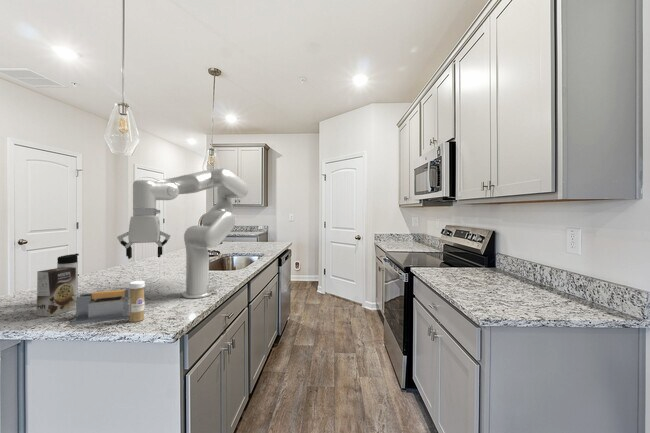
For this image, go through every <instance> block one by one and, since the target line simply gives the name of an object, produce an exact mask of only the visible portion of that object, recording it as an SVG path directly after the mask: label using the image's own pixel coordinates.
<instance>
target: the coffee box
mask: <svg viewBox="0 0 650 433" xmlns="http://www.w3.org/2000/svg"><path fill="white" fill-rule="evenodd" d="M36 272H37V273H36V274H37V277H36V278H37V279H36V282H37V283H36V284H37V285H36V290H37V291H36V316H38V317H39V316H40V317H49V318H52V317H54V316H55V317H56V316H58V315H60V314H63V313H66V312H69V311H73V310H76V268H73V267H61V268H57V267H56V268H50V269H44V270H43V269H42V270H40V271H39V270H38V271H36ZM51 316H52V317H51Z"/></svg>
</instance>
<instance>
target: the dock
mask: <svg viewBox="0 0 650 433" xmlns="http://www.w3.org/2000/svg"><path fill="white" fill-rule="evenodd" d="M92 293H93V292H91V293H80V294H79V296H78V297H77V298H76V309H75V318H74V319H72V321H70V326H75V325H76V326H77V325H82V324H89V323H90V324H93V323H100V322H108V321H115V320H126V319H130V312H129V296H128V297H125V296H121V297H110V298H99V299H92Z"/></svg>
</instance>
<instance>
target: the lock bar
mask: <svg viewBox="0 0 650 433" xmlns="http://www.w3.org/2000/svg"><path fill="white" fill-rule="evenodd" d="M91 293H92V299H99V298H110V297H121V296H125V297H128V298H129V297H130V288H129V287H126V288H125V289H114V290H105V291H103V290H102V291H93V292H91Z"/></svg>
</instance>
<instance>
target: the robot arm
mask: <svg viewBox="0 0 650 433" xmlns="http://www.w3.org/2000/svg"><path fill="white" fill-rule="evenodd" d="M216 187H217V202H216V203H215V204H214V205H213V207H212V208H210V209H209V210H208V211H207V213H206V214H205V215H204V216H203V217H202V220H201V225H192V226H189V227H188V228H186V230H184V231H185V232H184V234H183V242H184V246H185V256H186V258H185V261H186V262H185V290H184V291H183V292H182V294H181V297H183V298H184V299H200V298H206V297H208V296H211V295H212V294H213V290H220V284H210V281H209V279H210V277H209V276H210V273H209V272H210V255H209V249H208V248H212V249H213V248H216V247H218V246H219V245H221V243H222V242H223V241H224V240H225V239H226V237H227V236H228V235H229V234H230V233H231V231H232V230H233V229H234V226H235V224H236V218H235V215H234V213H233V210H234V209H233V208H234V206H233V200H232V199H242V198H245V197H246V196H247V195H248V194H249V187H248V185H247V182H246V181H244V180H243V179H242V178H240V177H239V176H238V175H236V174H235V173H234V172H232V171H231V170H229V169H227V168H212V169H211V168H210V169H206V170H202V171H197V172H193V173H188V174H183V175H180V176H176V177H175V176H174V177H169V178H165V179H161V180H154V181H153V180H149V179H148V180H146V179H145V180H144V179H142V180H141V179H137V180H134V181H133V182H132V216H130V220H129V224H128V225H129V226H128V231H127V232H124V233H123V234H120V235H117V237H116V239H117V240H118V241H119V244H120V245H121V246H123V247H124V248H125V255H126V257H127V259H128V260H130V259H131V258H133V248H132V245H133V244H143V243H147V244H149V243H151V244H152V243H155V244H156V245H157V246H158V247H157V258H161V256H163V246H165V245H166V244H167V243H168V241H169V239H170V238H171V235H170V234H168V233H167V232H164V231H161V223H160V219H159V216H157V214H158V215H159V214H161V210H160V209H158V208H157V201H173V200H174V199H176V198H177V197H178V196H179V195H188V194H189V195H190V194H195V193H199V192H200V193H201V192H203V191H206V190H210V189H212V188H216ZM161 236H163V237H165V238H164V240H163V241H161ZM125 237H126V238H127V237H128V242H126V241H125V239H124V238H125Z"/></svg>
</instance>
